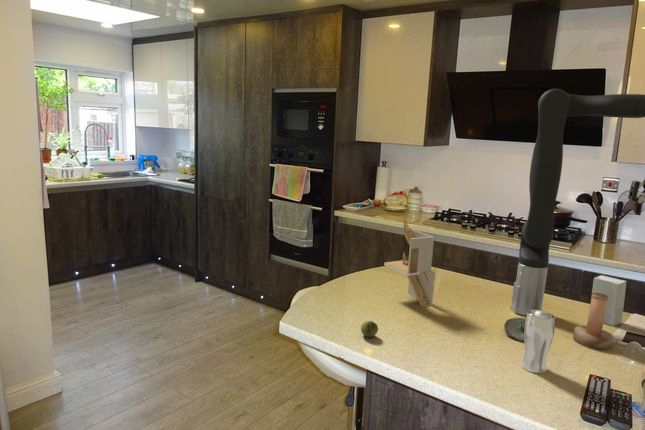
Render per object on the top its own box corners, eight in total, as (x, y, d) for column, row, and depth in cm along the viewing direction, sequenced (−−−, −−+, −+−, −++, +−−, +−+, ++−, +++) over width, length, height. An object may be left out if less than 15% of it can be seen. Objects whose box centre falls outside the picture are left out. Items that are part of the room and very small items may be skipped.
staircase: (410, 311, 157) (417, 228, 151) (382, 295, 171) (387, 219, 165) (432, 306, 161) (440, 226, 156) (403, 291, 175) (409, 217, 170)
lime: (358, 335, 135) (359, 319, 134) (371, 332, 137) (372, 316, 136) (367, 341, 131) (368, 325, 130) (380, 338, 134) (381, 322, 133)
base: (579, 347, 134) (581, 337, 134) (568, 333, 144) (569, 324, 143) (617, 351, 133) (618, 342, 132) (602, 337, 142) (604, 328, 142)
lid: (541, 334, 142) (543, 319, 141) (539, 346, 134) (542, 330, 133) (505, 326, 147) (507, 311, 146) (501, 337, 138) (503, 322, 137)
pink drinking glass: (588, 335, 136) (595, 296, 134) (583, 329, 140) (589, 291, 138) (604, 336, 135) (610, 298, 133) (598, 330, 139) (604, 293, 137)
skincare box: (621, 323, 154) (629, 281, 151) (612, 327, 151) (620, 283, 148) (595, 314, 161) (602, 274, 158) (586, 317, 158) (593, 276, 155)
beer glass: (514, 361, 124) (521, 308, 121) (538, 361, 125) (546, 309, 122) (527, 374, 117) (535, 319, 114) (553, 374, 118) (562, 320, 115)
